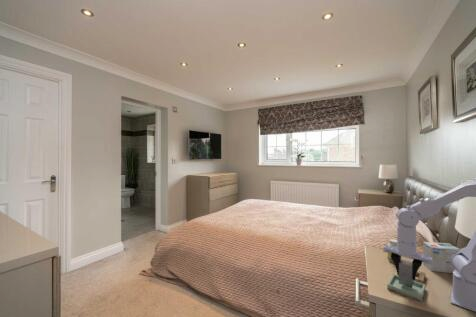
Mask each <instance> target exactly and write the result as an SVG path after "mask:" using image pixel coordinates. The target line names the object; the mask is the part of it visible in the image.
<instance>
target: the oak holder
mask: <svg viewBox="0 0 476 317" xmlns="http://www.w3.org/2000/svg"><path fill="white" fill-rule="evenodd" d="M397 275H398V274H397ZM398 276H399V275H398ZM425 279H426V272H423V271H419V270H418V271H417V273H416V277H415V280H414V281H416V282H419V283H422V284H424V282H425Z"/></svg>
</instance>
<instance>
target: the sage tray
mask: <svg viewBox="0 0 476 317" xmlns="http://www.w3.org/2000/svg"><path fill="white" fill-rule="evenodd" d="M386 286H387V287H386V288H387V290H389V291H393V292H395V293H398V294H400V295H402V296H405V297H408V298H410V299H413V300H415V301H419V302H421V303H422V302H423V298H424V295H425V292H426V284H425V283H423V284H422V283H419V282H416V281H414V285H413V287H412V288H410V287H407V286H404V285H402V284H399V276H398V274H395V273H393V274H392V276H391V277H390V279H389V280H388V282H387V285H386Z"/></svg>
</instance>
